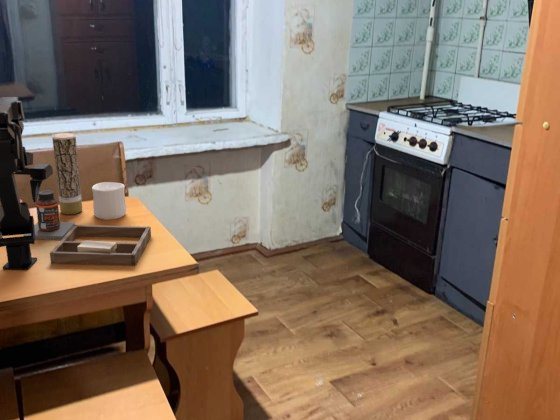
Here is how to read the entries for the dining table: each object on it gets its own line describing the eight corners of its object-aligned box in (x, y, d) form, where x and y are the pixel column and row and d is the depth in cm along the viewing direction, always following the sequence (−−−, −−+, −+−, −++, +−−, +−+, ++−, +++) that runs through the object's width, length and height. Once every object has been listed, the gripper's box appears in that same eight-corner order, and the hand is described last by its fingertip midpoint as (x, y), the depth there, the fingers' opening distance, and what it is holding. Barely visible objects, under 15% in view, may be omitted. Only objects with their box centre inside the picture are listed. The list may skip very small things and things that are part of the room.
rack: (135, 265, 155) (134, 255, 154) (50, 263, 155) (49, 253, 154) (151, 236, 174) (150, 226, 172) (75, 234, 173) (74, 224, 172)
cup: (91, 212, 191) (89, 183, 188) (123, 208, 195) (121, 180, 192) (96, 221, 183) (93, 192, 180) (129, 217, 187) (127, 188, 184)
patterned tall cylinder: (75, 216, 187) (68, 138, 179) (56, 214, 189) (47, 137, 180) (86, 209, 194) (79, 133, 185) (67, 207, 195) (59, 132, 186)
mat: (62, 239, 170) (62, 236, 169) (23, 238, 169) (23, 235, 169) (74, 225, 180) (74, 222, 180) (38, 224, 180) (38, 221, 179)
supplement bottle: (46, 234, 170) (42, 196, 167) (34, 229, 174) (30, 192, 170) (64, 228, 175) (60, 191, 171) (52, 223, 178) (48, 187, 174)
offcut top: (110, 254, 155) (110, 248, 155) (77, 251, 156) (77, 246, 156) (116, 247, 159) (116, 242, 159) (85, 245, 160) (84, 240, 160)
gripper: (57, 139, 163) (62, 193, 168) (-11, 137, 163) (-4, 191, 168) (41, 149, 152) (48, 206, 158) (-31, 147, 152) (-22, 204, 157)
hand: (18, 201), depth 160 cm, fingers open, 9 cm apart
